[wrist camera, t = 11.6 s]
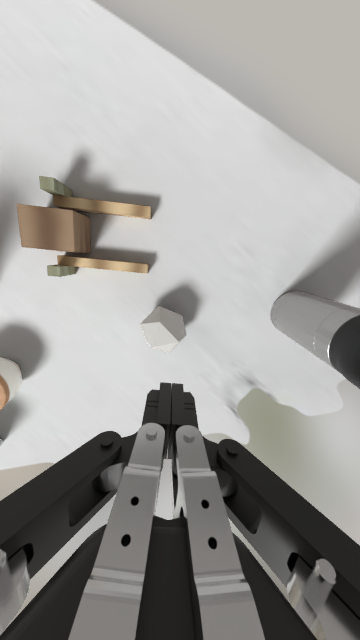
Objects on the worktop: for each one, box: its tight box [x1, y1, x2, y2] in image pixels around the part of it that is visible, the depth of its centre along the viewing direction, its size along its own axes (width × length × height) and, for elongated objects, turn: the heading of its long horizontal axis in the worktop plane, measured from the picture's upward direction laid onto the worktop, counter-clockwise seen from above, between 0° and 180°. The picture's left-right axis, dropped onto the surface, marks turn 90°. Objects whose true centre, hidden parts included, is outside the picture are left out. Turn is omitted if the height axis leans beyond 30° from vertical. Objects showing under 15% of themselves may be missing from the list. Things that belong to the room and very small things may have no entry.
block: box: [17, 204, 91, 253], centre depth 35 cm, size 8×6×7 cm
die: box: [140, 306, 186, 353], centre depth 41 cm, size 8×9×10 cm
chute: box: [39, 176, 152, 277], centre depth 36 cm, size 16×14×6 cm
